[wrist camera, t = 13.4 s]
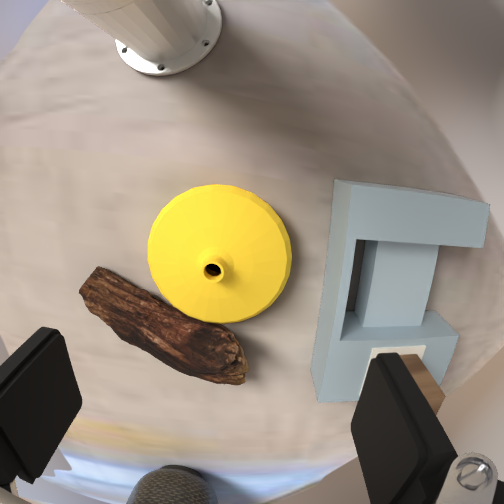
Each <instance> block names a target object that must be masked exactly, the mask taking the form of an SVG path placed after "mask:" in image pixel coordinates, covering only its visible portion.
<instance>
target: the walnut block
mask: <svg viewBox="0 0 504 504" xmlns="http://www.w3.org/2000/svg"><path fill="white" fill-rule="evenodd" d="M399 356H400V357H401V359H402V360H403V362H404V364H405V365H406V367H407V368H408V370H409V372H410V373H411V375H412V377H413V378H414V380H415V382H416V383H417V385H418V387H419V388H420V390H421V392H422V393H423V395H424V396H425V398H426V399H427V401H428V403H429V405H430V406H431V408H432V410H433V411H434V413H435V415H436V414H437V412H438V410H439V408H440V406H441V404H442V402H443V400H444V398H445V395H444V393H443V392H442V390H441V389H440V387H439V386H438V384H437V383H436V381H435V380H434V378H433V377H432V375H431V374H430V372H429V371H428V369H427V368H426V366H425V365H424V364H423V362H422V361H421V359H420V358H419V356H418V355H417V354H405V355H399Z"/></svg>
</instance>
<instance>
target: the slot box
mask: <svg viewBox="0 0 504 504" xmlns="http://www.w3.org/2000/svg"><path fill="white" fill-rule="evenodd" d="M489 209H490V204H488V203H484V202H481V201H477V200H474V199H470V198H467V197H463V196H459V195H454V194H448V193H442V192H436V191H429V190H422V189H415V188H408V187H400V186H393V185H385V184H376V183H367V182H358V181H348V180H338V179H334V189H333V201H332V213H331V223H330V233H329V242H328V252H327V260H326V269H325V277H324V284H323V292H322V299H321V306H320V313H319V320H318V327H317V333H316V339H315V345H314V351H313V357H312V363H311V373H312V378H313V383H314V387H315V392H316V397H317V401H318V403H321V402H346V401H358V400H359V397H360V394H361V391H362V388H363V384H364V381H365V378H366V374H367V371H368V367H369V364H370V361H371V359H372V358H376V356H377V354H379V353H392V352H396V353H398V354H399V355H405V354H417V355H418V356H419V358H420V359H421V361H422V362H423V364H424V365H425V366H426V368H427V369H428V371H429V372H430V374H431V375H432V377H433V378H434V380H435V381H436V383H437V384H438V386H439V387H440V385H441V382H442V380H443V378H444V375H445V373H446V370H447V368H448V365H449V363H450V360H451V358H452V355H453V352H454V350H455V347H456V344H457V341H458V338H459V334H458V333H457V332H456V331H455V330H454V329H453V328H452V327H451V326H450V325H449V324H448V323H447V322H446V321H445V320H444V319H443V318H442V317H441V316H440V315H439V314H438V313H437V312H436V311H425V308H426V305H427V301H428V297H429V293H430V288H431V284H432V280H433V275H434V270H435V266H436V261H437V256H438V250H439V245H447V246H460V247H473V248H483V245H484V240H485V235H486V229H487V223H488V216H489ZM356 239H361V240H366V241H365V248H364V255H363V262H362V268H361V275H360V281H359V287H358V293H357V298H356V304H355V309H354V311H345V310H346V304H347V299H348V293H349V286H350V280H351V274H352V267H353V260H354V253H355V245H356Z"/></svg>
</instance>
